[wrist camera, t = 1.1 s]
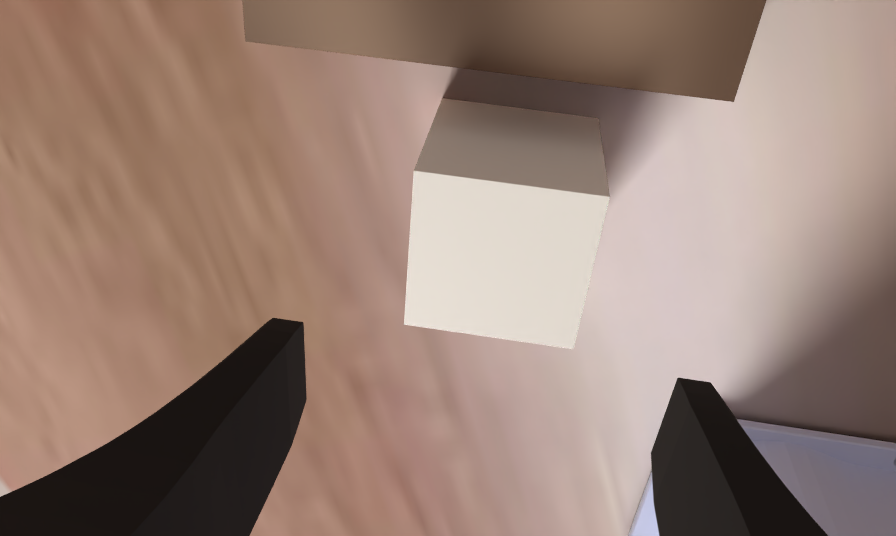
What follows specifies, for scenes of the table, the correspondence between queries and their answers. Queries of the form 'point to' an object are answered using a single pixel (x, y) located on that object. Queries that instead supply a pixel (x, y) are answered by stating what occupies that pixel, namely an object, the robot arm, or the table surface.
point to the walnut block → (533, 37)
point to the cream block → (505, 222)
